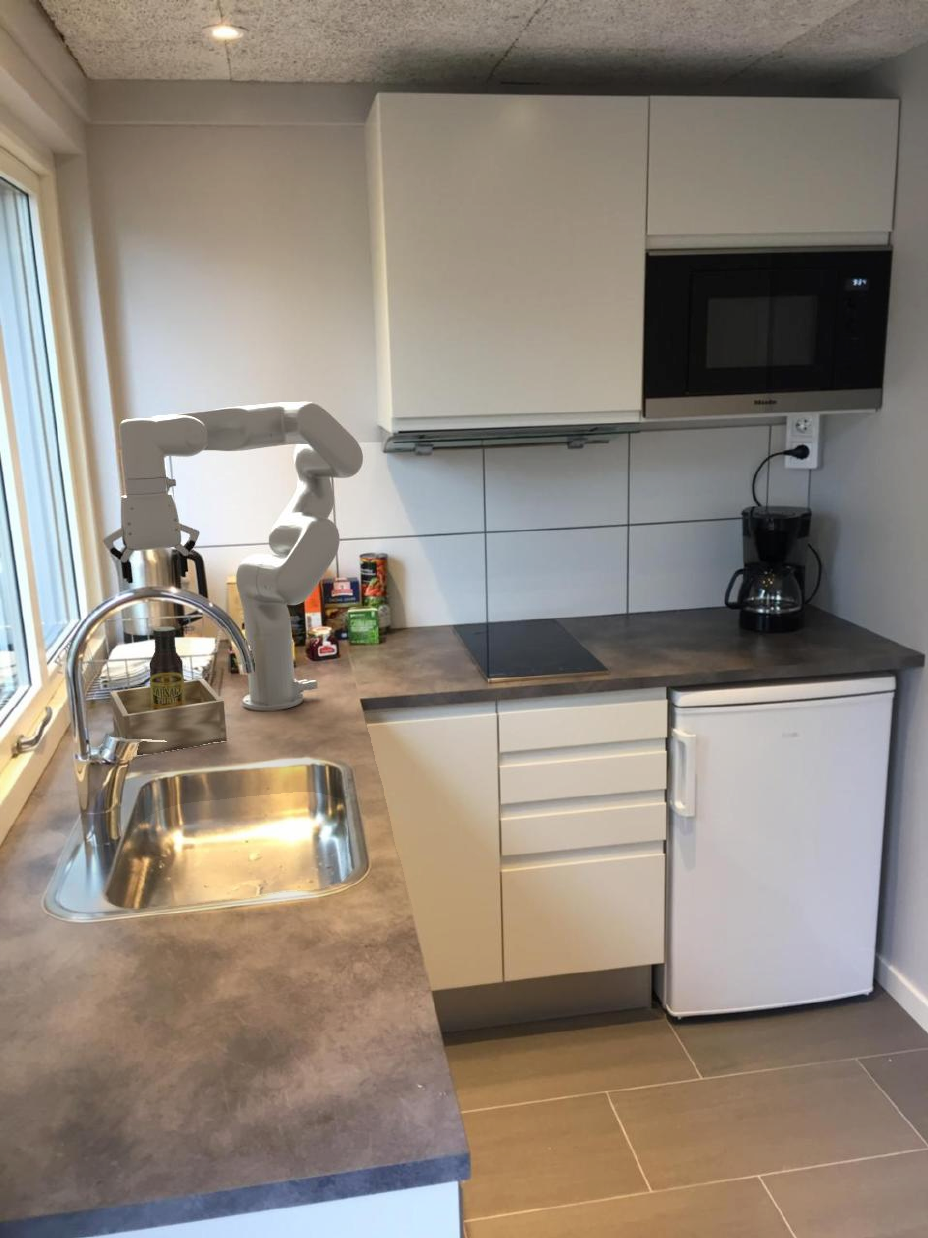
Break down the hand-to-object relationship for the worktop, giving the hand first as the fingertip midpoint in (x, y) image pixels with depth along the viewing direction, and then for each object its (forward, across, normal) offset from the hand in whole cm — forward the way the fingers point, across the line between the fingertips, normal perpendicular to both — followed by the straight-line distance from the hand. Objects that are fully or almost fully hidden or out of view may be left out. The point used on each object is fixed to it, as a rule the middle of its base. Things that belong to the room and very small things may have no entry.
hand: (156, 579), depth 188 cm
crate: (+30, +1, +1) cm, 30 cm away
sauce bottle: (+29, 0, +1) cm, 29 cm away
